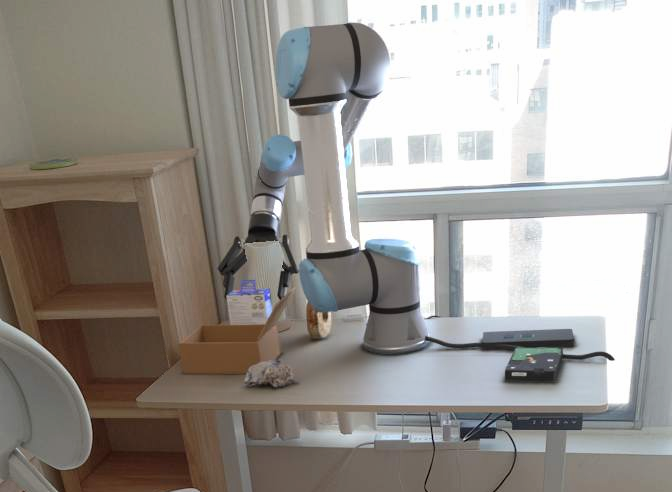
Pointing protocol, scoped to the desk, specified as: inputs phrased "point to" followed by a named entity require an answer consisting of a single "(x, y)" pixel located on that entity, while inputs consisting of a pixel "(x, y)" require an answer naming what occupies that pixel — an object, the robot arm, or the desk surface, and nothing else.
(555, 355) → the disk drive
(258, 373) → the mineral specimen
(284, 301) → the flap
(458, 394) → the desk surface
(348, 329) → the desk surface
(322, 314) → the stone disc
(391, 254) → the robot arm
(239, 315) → the ink cartridge box
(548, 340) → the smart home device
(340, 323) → the desk surface
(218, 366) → the carton
